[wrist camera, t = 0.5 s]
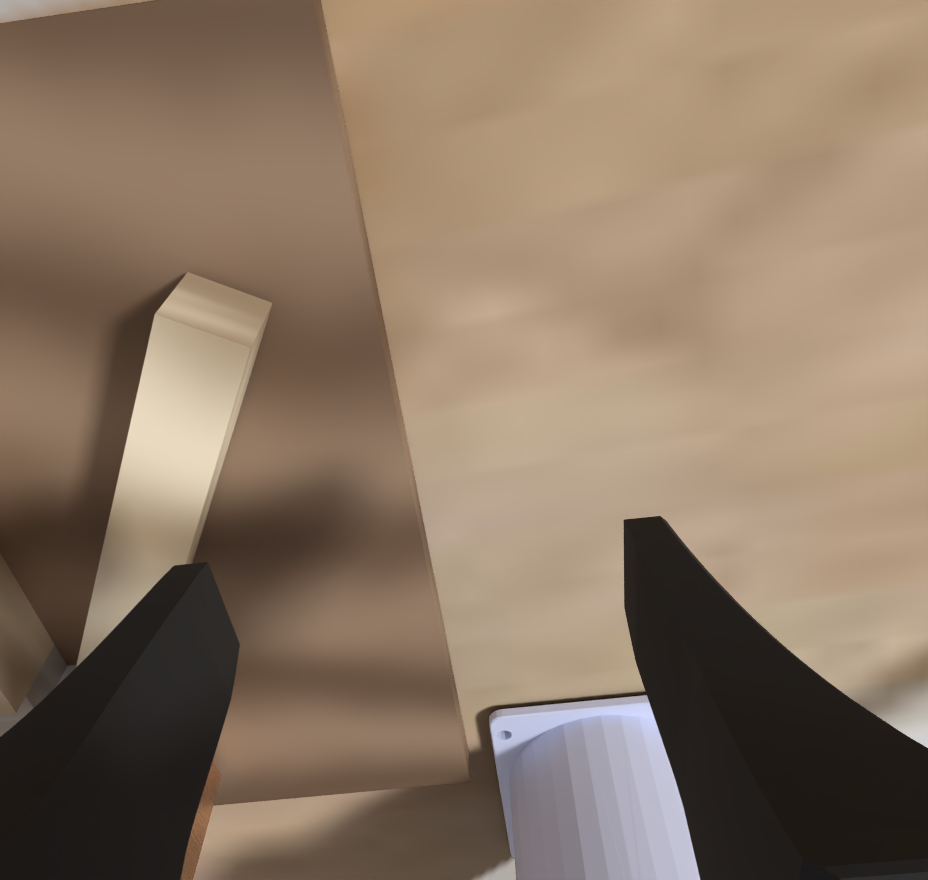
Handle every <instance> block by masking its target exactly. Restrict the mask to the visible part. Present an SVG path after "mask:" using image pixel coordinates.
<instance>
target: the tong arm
mask: <svg viewBox="0 0 928 880" xmlns="http://www.w3.org/2000/svg"><path fill="white" fill-rule="evenodd" d="M271 307H272V303H271V302H269V301H266V300H263V299H260V298H258V297H255V296H252V295H249V294H247V293H244V292H241V291H238V290H236V289H233V288H230V287H228V286H225V285H222V284H219V283H217V282H214V281H211V280H208V279H206V278H203V277H200V276H197V275H195V274H192V273H189V272H187V274H186V275H185V276H184V277H183V279H182V280H181V281H180V283H179V284H178V285H177V286H176V288H175V289H174V290H173V292H172V293H171V294H170V295H169V297H168V298H167V299H166V300H165V302H164V303H163V304H162V306H161V307H160V308H159V309H158V311H157V312H156V313H155V315H154V320H153V324H152V329H151V333H150V338H149V342H148V347H147V351H146V356H145V360H144V365H143V369H142V374H141V378H140V383H139V387H138V392H137V396H136V400H135V405H134V409H133V414H132V418H131V423H130V427H129V432H128V436H127V441H126V445H125V450H124V454H123V459H122V463H121V468H120V472H119V477H118V481H117V486H116V490H115V495H114V499H113V504H112V508H111V513H110V517H109V521H108V526H107V530H106V535H105V539H104V544H103V548H102V553H101V557H100V562H99V566H98V571H97V575H96V580H95V584H94V589H93V593H92V598H91V602H90V607H89V611H88V616H87V620H86V625H85V629H84V634H83V638H82V643H81V647H80V651H79V656H78V660H77V665H76V667H77V666H78V665H79V664H80V663H81V662H82V661H83V660H84V659H85V658H86V657H87V656H88V655H89V654H90V653H91V652H92V651H93V650H94V649H95V648H96V647H97V646H98V645H99V644H100V643H101V642H102V641H103V640H104V639H105V638H106V637H107V636H108V635H109V633H110V632H111V631H112V630H113V629H114V628H115V627H116V626H117V625H118V624H119V623H120V622H121V621H122V620H123V619H124V618H125V617H126V616H127V614H128V613H129V612H130V611H131V610H132V609H133V608H134V607H135V606H136V605H137V604H138V603H139V601H140V600H141V599H142V598H143V597H144V596H145V595H146V594H147V593H148V592H149V591H150V590H151V589H152V587H153V586H154V585H155V584H156V583H157V582H158V581H159V580H160V579H161V578H162V577H163V576H164V575H165V574H166V573H167V572H168V571H169V570H170V569H171V568H172V567H173V566H174V565H184V564H192V563H193V560H194V557H195V553H196V550H197V547H198V544H199V540H200V537H201V534H202V531H203V527H204V524H205V521H206V518H207V514H208V511H209V508H210V505H211V501H212V498H213V495H214V492H215V488H216V485H217V482H218V479H219V475H220V472H221V469H222V466H223V462H224V459H225V456H226V453H227V450H228V446H229V443H230V440H231V437H232V433H233V430H234V427H235V424H236V420H237V417H238V414H239V411H240V407H241V404H242V401H243V398H244V394H245V391H246V388H247V385H248V381H249V378H250V375H251V372H252V368H253V365H254V362H255V359H256V355H257V352H258V349H259V346H260V342H261V339H262V336H263V333H264V329H265V326H266V323H267V320H268V316H269V313H270V310H271Z"/></svg>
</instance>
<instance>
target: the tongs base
mask: <svg viewBox="0 0 928 880" xmlns="http://www.w3.org/2000/svg"><path fill="white" fill-rule="evenodd" d="M187 272H189V273H192V274H195V275H197V276H200V277H203V278H206V279H208V280H211V281H214V282H217V283H219V284H222V285H225V286H228V287H230V288H233V289H236V290H238V291H241V292H244V293H247V294H249V295H252V296H255V297H258V298H260V299H263V300H266V301H269V302H271V303H272V307H271V310H270V313H269V316H268V320H267V323H266V326H265V329H264V333H263V336H262V339H261V342H260V346H259V349H258V352H257V355H256V359H255V362H254V365H253V368H252V372H251V375H250V378H249V381H248V385H247V388H246V391H245V394H244V398H243V401H242V404H241V407H240V411H239V414H238V417H237V420H236V424H235V427H234V430H233V433H232V437H231V440H230V443H229V446H228V450H227V453H226V456H225V459H224V462H223V466H222V469H221V472H220V475H219V479H218V482H217V485H216V488H215V492H214V495H213V498H212V501H211V505H210V508H209V511H208V514H207V518H206V521H205V524H204V527H203V531H202V534H201V537H200V540H199V544H198V547H197V550H196V553H195V557H194V560H193V563H203V562H208V564H209V566H210V569H211V571H212V574H213V576H214V579H215V582H216V584H217V587H218V589H219V592H220V594H221V597H222V600H223V602H224V605H225V607H226V610H227V612H228V615H229V618H230V620H231V623H232V625H233V628H234V630H235V633H236V635H237V638H238V641H239V643H240V648H239V655H238V661H237V668H236V675H235V680H234V686H233V691H232V697H231V701H230V705H229V708H228V712H227V715H226V719H225V722H224V725H223V729H222V732H221V735H220V739H219V742H218V745H217V748H216V752H215V755H214V758H213V759H214V762H215V764H216V766H217V768H218V770H219V772H220V774H221V778H220V782H219V786H218V789H217V793H216V797H215V800H214V804H213V805H224V804H235V803H246V802H257V801H268V800H278V799H289V798H300V797H311V796H322V795H333V794H344V793H355V792H366V791H376V790H387V789H398V788H409V787H420V786H431V785H442V784H453V783H464V782H470V757H469V752H468V747H467V741H466V736H465V731H464V726H463V721H462V716H461V711H460V706H459V701H458V696H457V691H456V686H455V681H454V675H453V670H452V665H451V660H450V655H449V650H448V645H447V640H446V635H445V630H444V625H443V620H442V614H441V609H440V604H439V599H438V594H437V589H436V584H435V579H434V574H433V569H432V564H431V559H430V554H429V548H428V543H427V538H426V533H425V528H424V523H423V518H422V513H421V508H420V503H419V498H418V493H417V488H416V482H415V477H414V472H413V467H412V462H411V457H410V452H409V447H408V442H407V437H406V432H405V427H404V422H403V416H402V411H401V406H400V401H399V396H398V391H397V386H396V381H395V376H394V371H393V366H392V361H391V355H390V350H389V345H388V340H387V335H386V330H385V325H384V320H383V315H382V310H381V305H380V300H379V295H378V289H377V284H376V279H375V274H374V269H373V264H372V259H371V254H370V249H369V244H368V239H367V234H366V229H365V223H364V218H363V213H362V208H361V203H360V198H359V193H358V188H357V183H356V178H355V173H354V168H353V163H352V157H351V152H350V147H349V142H348V137H347V132H346V127H345V122H344V117H343V112H342V107H341V102H340V96H339V91H338V86H337V81H336V76H335V71H334V66H333V61H332V56H331V51H330V46H329V41H328V36H327V30H326V25H325V20H324V15H323V10H322V5H321V0H155V1H148V2H141V3H134V4H128V5H121V6H114V7H108V8H101V9H94V10H87V11H81V12H74V13H67V14H60V15H54V16H47V17H40V18H33V19H27V20H20V21H13V22H6V23H0V737H1V736H2V735H3V734H4V733H6V732H7V731H8V730H9V729H10V728H12V727H13V726H14V725H15V724H16V723H17V722H19V721H20V720H21V719H22V718H23V717H24V716H25V715H27V714H28V713H29V712H30V711H31V710H32V709H33V708H34V707H35V706H37V705H38V704H39V703H40V702H41V701H42V700H43V699H44V698H45V697H46V696H47V695H48V694H49V693H50V692H51V691H52V690H53V689H54V688H55V687H57V686H58V685H59V684H60V683H61V682H62V681H63V680H64V679H65V678H66V677H67V676H68V675H69V674H70V673H71V672H72V671H73V670H74V669H75V668H76V665H77V660H78V656H79V651H80V647H81V643H82V638H83V634H84V629H85V625H86V620H87V616H88V611H89V607H90V602H91V598H92V593H93V589H94V584H95V580H96V575H97V571H98V566H99V562H100V557H101V553H102V548H103V544H104V539H105V535H106V530H107V526H108V521H109V517H110V513H111V508H112V504H113V499H114V495H115V490H116V486H117V481H118V477H119V472H120V468H121V463H122V459H123V454H124V450H125V445H126V441H127V436H128V432H129V427H130V423H131V418H132V414H133V409H134V405H135V400H136V396H137V392H138V387H139V383H140V378H141V374H142V369H143V365H144V360H145V356H146V351H147V347H148V342H149V338H150V333H151V329H152V324H153V320H154V315H155V313H156V312H157V311H158V309H159V308H160V307H161V306H162V304H163V303H164V302H165V300H166V299H167V298H168V297H169V295H170V294H171V293H172V292H173V290H174V289H175V288H176V286H177V285H178V284H179V283H180V281H181V280H182V279H183V277H184V276H185V275H186V274H187ZM193 563H192V564H193Z"/></svg>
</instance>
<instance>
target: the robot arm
mask: <svg viewBox="0 0 928 880" xmlns="http://www.w3.org/2000/svg"><path fill="white" fill-rule="evenodd" d="M624 605H625V612H626V617H627V622H628V627H629V632H630V637H631V641H632V646H633V651H634V655H635V660H636V664H637V667H638V670H639V673H640V676H641V679H642V682H643V685H644V688H645V691H646V694H647V695H643V696H632V697H622V698H612V699H601V700H591V701H581V702H570V703H560V704H549V705H539V706H529V707H518V708H508V709H500V710H496V711H494V712H493V713H492V714H491V715H490V716H489V728H490V733H491V739H492V745H493V751H494V757H495V763H496V769H497V775H498V781H499V787H500V793H501V799H502V805H503V811H504V817H505V822H506V828H507V834H508V840H509V846H510V852H511V856H512V858H514V859H515V866H516V880H928V748H926V747H925V746H923V745H921V744H920V743H918V742H916V741H915V740H913V739H911V738H909V737H908V736H906V735H905V734H903V733H901V732H900V731H898V730H897V729H895V728H894V727H892V726H891V725H889V724H888V723H886V722H885V721H883V720H882V719H880V718H879V717H877V716H876V715H874V714H873V713H871V712H870V711H868V710H867V709H865V708H864V707H862V706H861V705H859V704H858V703H856V702H855V701H853V700H852V699H850V698H849V697H848V696H846V695H845V694H844V693H842V692H841V691H840V690H838V689H837V688H836V687H834V686H833V685H832V684H830V683H829V682H828V681H826V680H825V679H824V678H822V677H821V676H820V675H818V674H817V673H816V672H815V671H813V670H812V669H811V668H810V667H808V666H807V665H806V664H805V663H803V662H802V661H801V660H800V659H799V658H797V657H796V656H795V655H794V654H793V653H791V652H790V651H789V650H788V649H787V648H786V647H784V646H783V645H782V644H781V643H780V642H779V641H778V640H777V639H775V638H774V637H773V636H772V635H771V634H770V633H769V632H768V631H767V630H766V629H765V628H763V627H762V626H761V625H760V624H759V623H758V622H757V621H756V620H755V619H754V618H753V617H752V616H751V615H750V614H749V613H748V612H747V611H746V610H745V609H744V608H743V607H742V606H741V605H739V603H738V602H737V601H736V600H735V599H734V598H733V597H732V596H731V595H730V594H729V593H728V592H727V591H726V590H725V589H724V588H723V587H722V586H721V585H720V584H719V583H718V582H717V581H716V580H715V578H714V577H713V576H712V575H711V574H710V573H709V572H708V571H707V570H706V568H705V567H704V566H703V565H702V564H701V563H700V562H699V560H698V559H697V558H696V557H695V556H694V555H693V554H692V552H691V551H690V550H689V549H688V548H687V546H686V545H685V544H684V543H683V542H682V540H681V539H680V538H679V537H678V535H677V534H676V533H675V532H674V530H673V529H672V528H671V526H670V525H669V524H668V522H667V521H666V520H664V519H663V518H662V517H661V516H656V517H646V518H636V519H626V520H624ZM239 648H240V643H239V641H238V638H237V635H236V633H235V630H234V628H233V625H232V623H231V620H230V618H229V615H228V612H227V610H226V607H225V605H224V602H223V600H222V597H221V594H220V592H219V589H218V587H217V584H216V582H215V579H214V576H213V574H212V571H211V569H210V566H209V564H208V562H203V563H193V564H184V565H174V566H173V567H172V568H171V569H170V570H169V571H168V572H167V573H166V574H165V575H164V576H163V577H162V578H161V579H160V580H159V581H158V582H157V583H156V584H155V585H154V586H153V587H152V589H151V590H150V591H149V592H148V593H147V594H146V595H145V596H144V597H143V598H142V599H141V600H140V601H139V603H138V604H137V605H136V606H135V607H134V608H133V609H132V610H131V611H130V612H129V613H128V614H127V616H126V617H125V618H124V619H123V620H122V621H121V622H120V623H119V624H118V625H117V626H116V627H115V628H114V629H113V630H112V631H111V632H110V633H109V635H108V636H107V637H106V638H105V639H104V640H103V641H102V642H101V643H100V644H99V645H98V646H97V647H96V648H95V649H94V650H93V651H92V652H91V653H90V654H89V655H88V656H87V657H86V658H85V659H84V660H83V661H82V662H81V663H80V664H79V665H78V666H77V667H76V668H75V669H74V670H73V671H72V672H71V673H70V674H69V675H68V676H67V677H66V678H65V679H64V680H63V681H62V682H61V683H60V684H59V685H58V686H57V687H55V688H54V689H53V690H52V691H51V692H50V693H49V694H48V695H47V696H46V697H45V698H44V699H43V700H42V701H41V702H40V703H39V704H38V705H37V706H35V707H34V708H33V709H32V710H31V711H30V712H29V713H28V714H27V715H25V716H24V717H23V718H22V719H21V720H20V721H19V722H17V723H16V724H15V725H14V726H13V727H12V728H10V729H9V730H8V731H7V732H6V733H4V734H3V735H2V736H1V737H0V880H181V875H182V870H183V865H184V860H185V855H186V850H187V846H188V842H189V838H190V834H191V831H192V827H193V823H194V820H195V816H196V813H197V810H198V807H199V803H200V800H201V797H202V794H203V790H204V787H205V784H206V781H207V778H208V774H209V771H210V768H211V765H212V761H213V758H214V755H215V752H216V748H217V745H218V742H219V739H220V735H221V732H222V729H223V725H224V722H225V719H226V715H227V712H228V708H229V705H230V701H231V697H232V691H233V686H234V680H235V675H236V668H237V661H238V655H239Z"/></svg>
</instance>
